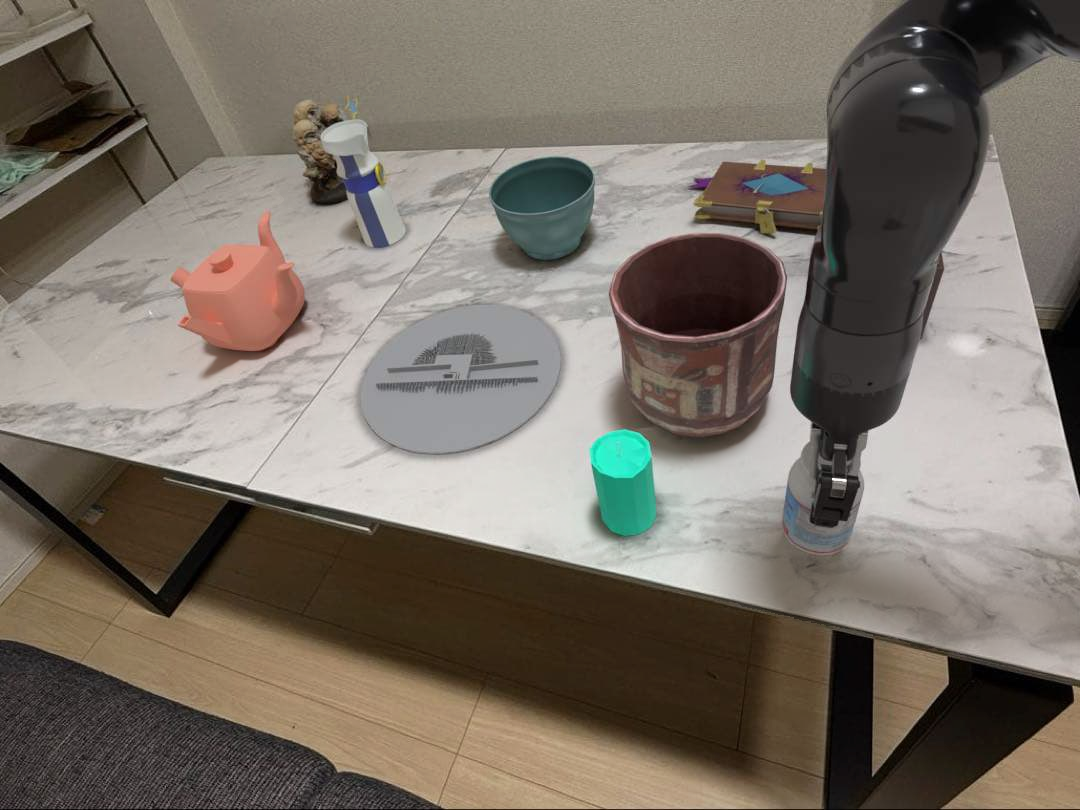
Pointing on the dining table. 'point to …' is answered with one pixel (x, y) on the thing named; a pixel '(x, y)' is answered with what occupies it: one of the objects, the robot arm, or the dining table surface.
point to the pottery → (699, 330)
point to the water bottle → (363, 180)
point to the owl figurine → (318, 150)
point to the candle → (624, 481)
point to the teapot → (242, 294)
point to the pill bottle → (800, 506)
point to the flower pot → (545, 204)
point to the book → (764, 195)
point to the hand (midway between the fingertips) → (823, 489)
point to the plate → (460, 379)
